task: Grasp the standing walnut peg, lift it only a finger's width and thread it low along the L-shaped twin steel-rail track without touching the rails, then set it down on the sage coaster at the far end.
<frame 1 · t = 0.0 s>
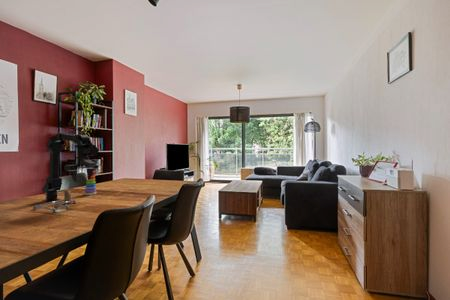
hand: (82, 180, 146), 15 cm above the table, fingers open, 9 cm apart
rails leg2: (54, 210, 133), on the table
stacking toy: (90, 194, 177), on the table
sage coaster: (59, 210, 132), on the table
walnut peg: (67, 203, 148), on the table
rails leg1: (55, 206, 142), on the table
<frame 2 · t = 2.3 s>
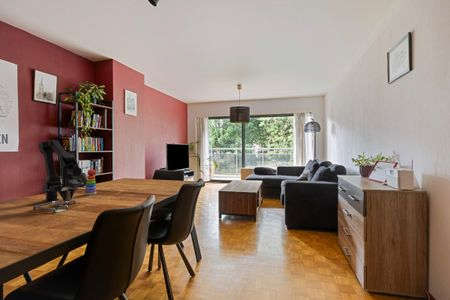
hand: (67, 200, 148), 2 cm above the table, fingers closed on walnut peg, 3 cm apart
walnut peg: (67, 203, 148), on the table, touching gripper
everything else where it was.
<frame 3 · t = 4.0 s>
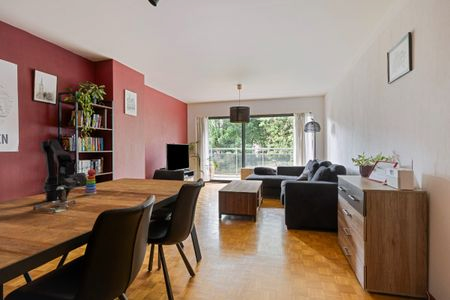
hand: (63, 199, 145), 3 cm above the table, fingers closed on walnut peg, 3 cm apart
walnut peg: (63, 202, 146), point 1 cm above the table, touching gripper
everything else where it was.
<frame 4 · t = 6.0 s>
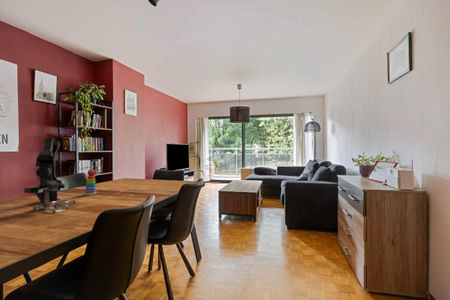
hand: (45, 202, 136), 3 cm above the table, fingers closed on walnut peg, 3 cm apart
walnut peg: (45, 206, 136), point 1 cm above the table, touching gripper
everything else where it was.
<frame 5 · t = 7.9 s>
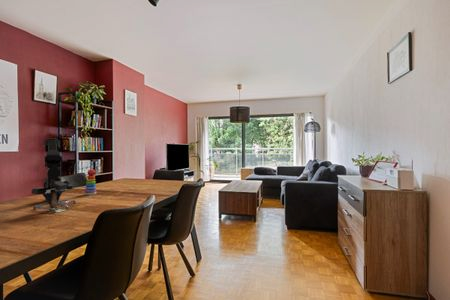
hand: (53, 204, 133), 3 cm above the table, fingers closed on walnut peg, 3 cm apart
walnut peg: (53, 207, 133), point 1 cm above the table, touching gripper
everything else where it was.
when the fingers open (3 cm above the table, at t = 9.8 s): walnut peg stays where it is, resting on sage coaster.
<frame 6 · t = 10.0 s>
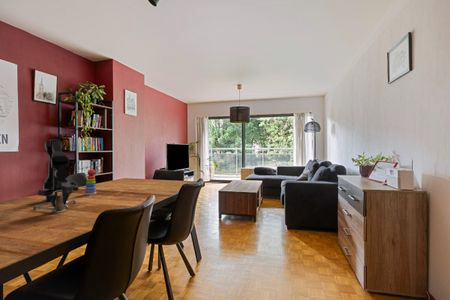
hand: (59, 205, 132), 3 cm above the table, fingers open, 5 cm apart
walnut peg: (59, 210, 132), resting on sage coaster
everything else where it was.
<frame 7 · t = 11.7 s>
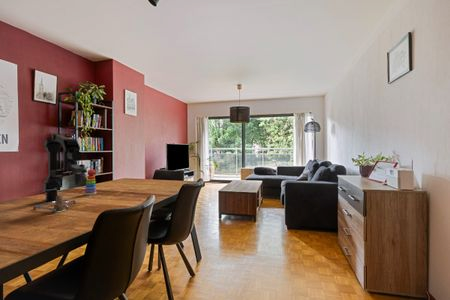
hand: (69, 186, 141), 12 cm above the table, fingers open, 9 cm apart
nothing on the table moved.
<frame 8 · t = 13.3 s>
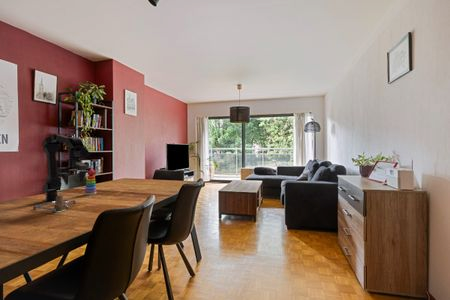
hand: (74, 183, 146), 13 cm above the table, fingers open, 9 cm apart
nothing on the table moved.
at the end: walnut peg 0.0 cm off-centre on the sage coaster, point 0.3 cm above the sage coaster's base; walnut peg tilted 0°; walnut peg touching sage coaster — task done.
